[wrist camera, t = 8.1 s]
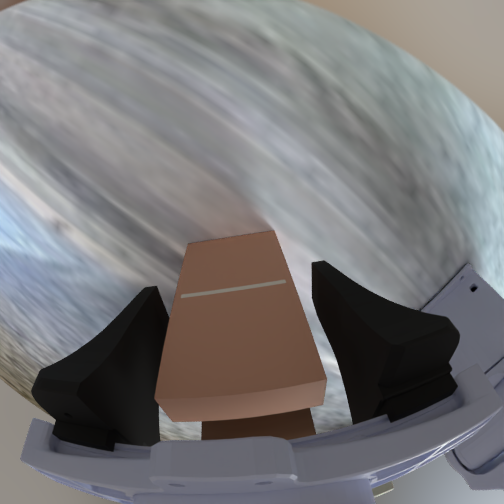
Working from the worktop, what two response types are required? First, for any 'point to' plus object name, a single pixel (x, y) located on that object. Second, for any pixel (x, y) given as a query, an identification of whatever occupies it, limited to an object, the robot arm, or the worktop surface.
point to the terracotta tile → (237, 336)
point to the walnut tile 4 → (262, 426)
